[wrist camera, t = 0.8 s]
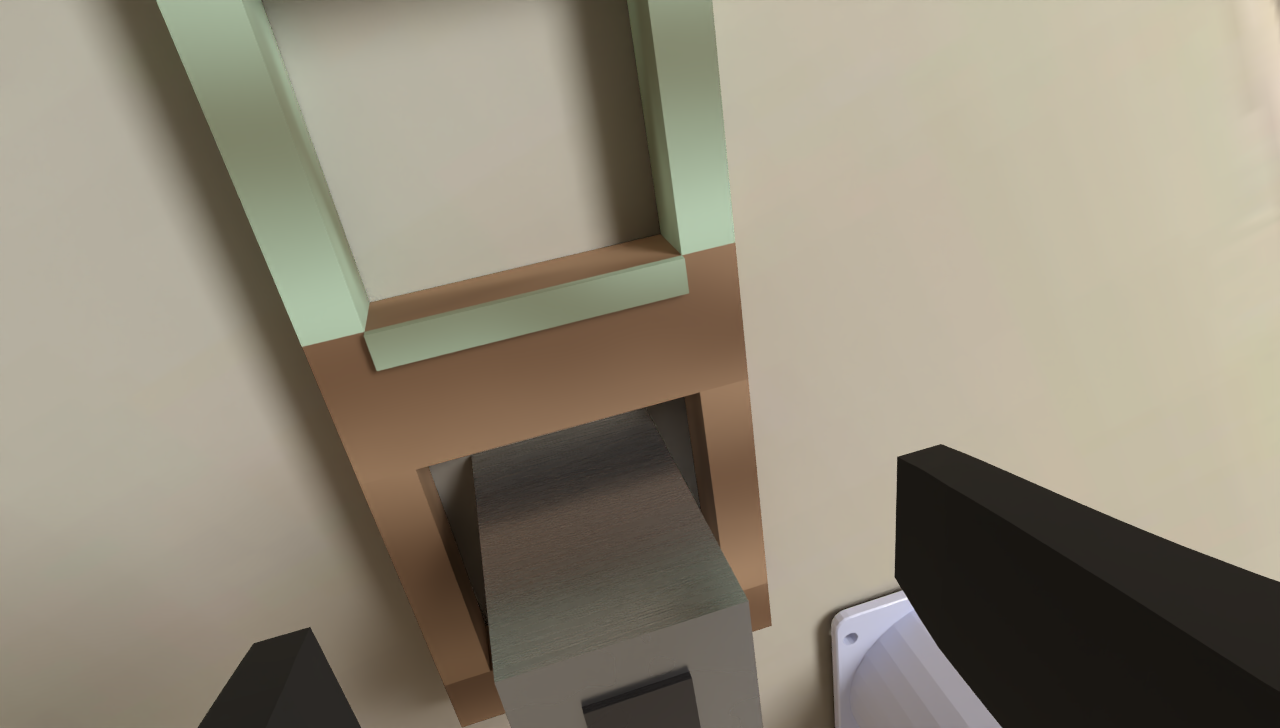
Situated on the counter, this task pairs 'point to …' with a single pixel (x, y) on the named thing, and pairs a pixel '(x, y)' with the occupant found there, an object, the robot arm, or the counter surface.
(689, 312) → the tray
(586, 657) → the block
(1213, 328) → the counter surface
